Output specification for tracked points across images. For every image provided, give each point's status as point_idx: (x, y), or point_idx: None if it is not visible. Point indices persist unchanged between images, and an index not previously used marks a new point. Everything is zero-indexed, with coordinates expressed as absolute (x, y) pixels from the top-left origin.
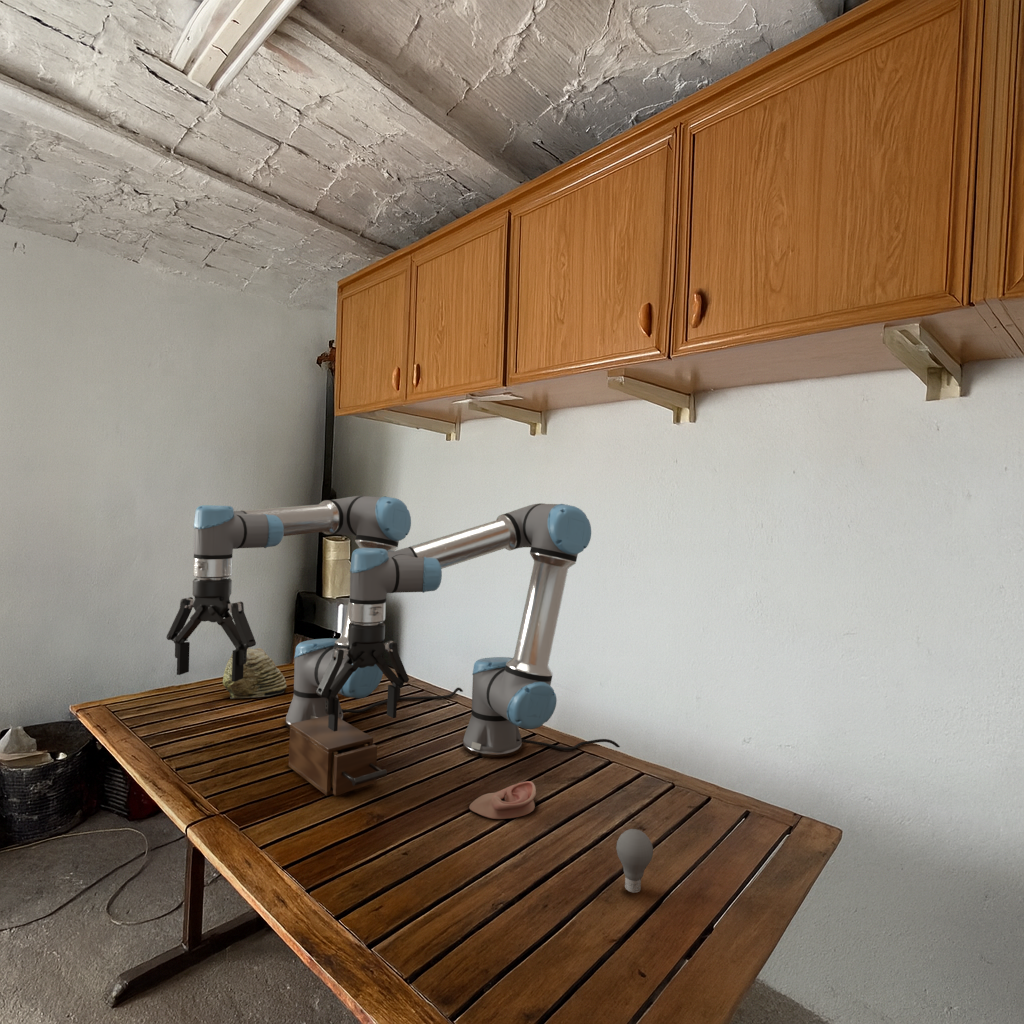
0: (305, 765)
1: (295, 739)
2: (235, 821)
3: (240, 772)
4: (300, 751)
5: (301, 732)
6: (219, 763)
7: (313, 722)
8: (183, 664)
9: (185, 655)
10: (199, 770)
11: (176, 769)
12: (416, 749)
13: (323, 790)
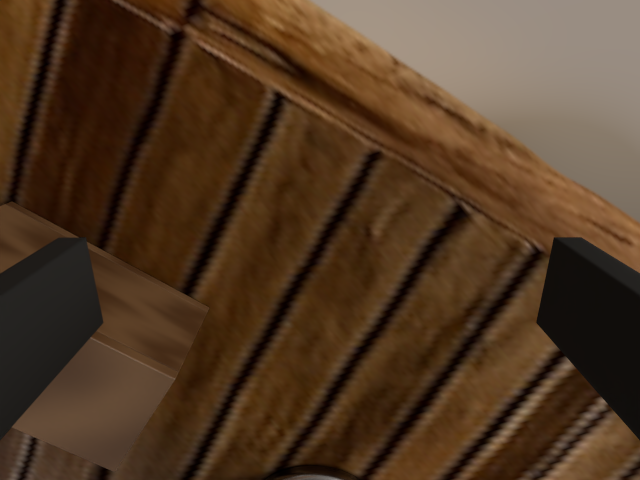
0: (108, 277)
1: (149, 336)
2: (112, 3)
3: (296, 245)
4: (126, 306)
5: (97, 337)
6: (380, 271)
7: (117, 407)
8: (588, 308)
9: (634, 374)
10: (401, 222)
11: (462, 209)
12: (7, 461)
13: (24, 212)
